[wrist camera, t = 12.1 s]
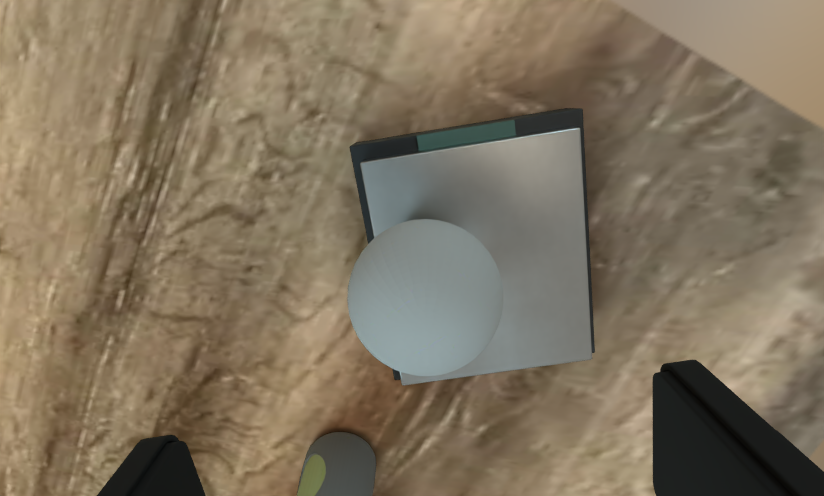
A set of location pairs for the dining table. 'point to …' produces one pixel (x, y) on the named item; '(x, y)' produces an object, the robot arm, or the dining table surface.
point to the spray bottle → (338, 467)
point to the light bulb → (425, 297)
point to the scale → (499, 223)
